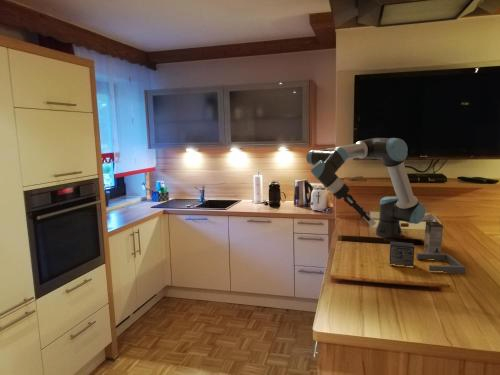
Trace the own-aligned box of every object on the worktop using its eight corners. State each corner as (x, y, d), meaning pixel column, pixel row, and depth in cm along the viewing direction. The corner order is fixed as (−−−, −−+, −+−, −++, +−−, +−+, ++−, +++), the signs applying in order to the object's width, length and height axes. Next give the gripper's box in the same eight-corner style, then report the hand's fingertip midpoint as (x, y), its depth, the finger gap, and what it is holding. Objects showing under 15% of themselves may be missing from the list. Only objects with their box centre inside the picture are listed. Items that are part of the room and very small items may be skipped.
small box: (412, 263, 181) (413, 242, 179) (413, 268, 175) (415, 246, 173) (389, 261, 184) (390, 240, 183) (389, 266, 178) (390, 244, 177)
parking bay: (416, 258, 188) (416, 253, 187) (447, 259, 186) (448, 253, 186) (430, 272, 170) (430, 266, 169) (465, 273, 169) (465, 267, 168)
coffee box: (423, 250, 201) (425, 220, 198) (436, 251, 199) (438, 221, 197) (427, 256, 192) (430, 225, 189) (441, 256, 191) (443, 226, 188)
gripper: (329, 190, 187) (361, 222, 188) (335, 197, 168) (370, 233, 169) (341, 179, 186) (373, 212, 187) (347, 186, 166) (383, 222, 167)
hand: (372, 222), depth 178 cm, fingers open, 7 cm apart
